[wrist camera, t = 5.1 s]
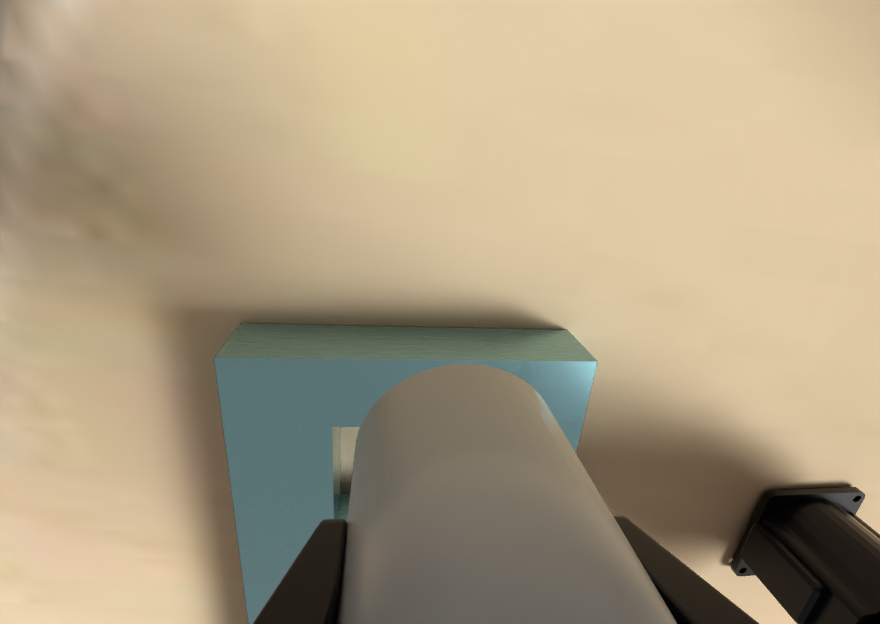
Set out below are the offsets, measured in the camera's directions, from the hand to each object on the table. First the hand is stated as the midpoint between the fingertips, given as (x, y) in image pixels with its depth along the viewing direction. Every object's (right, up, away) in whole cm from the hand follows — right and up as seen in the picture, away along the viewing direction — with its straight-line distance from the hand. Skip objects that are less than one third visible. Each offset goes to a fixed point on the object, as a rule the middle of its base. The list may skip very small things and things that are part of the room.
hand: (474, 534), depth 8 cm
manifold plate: (-3, -7, +15) cm, 17 cm away
